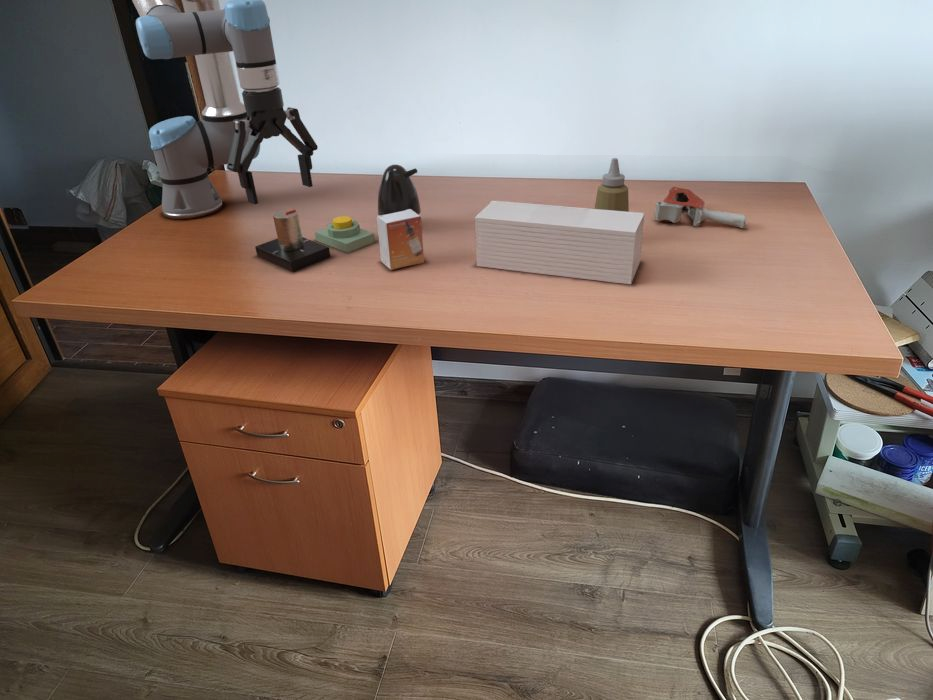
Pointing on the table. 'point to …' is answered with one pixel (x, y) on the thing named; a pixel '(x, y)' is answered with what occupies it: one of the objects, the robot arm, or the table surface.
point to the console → (293, 254)
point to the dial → (288, 230)
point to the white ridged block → (560, 240)
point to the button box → (345, 237)
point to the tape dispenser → (692, 209)
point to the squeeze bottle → (613, 190)
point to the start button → (342, 222)
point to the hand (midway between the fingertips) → (281, 194)
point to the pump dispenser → (397, 191)
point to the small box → (400, 239)
